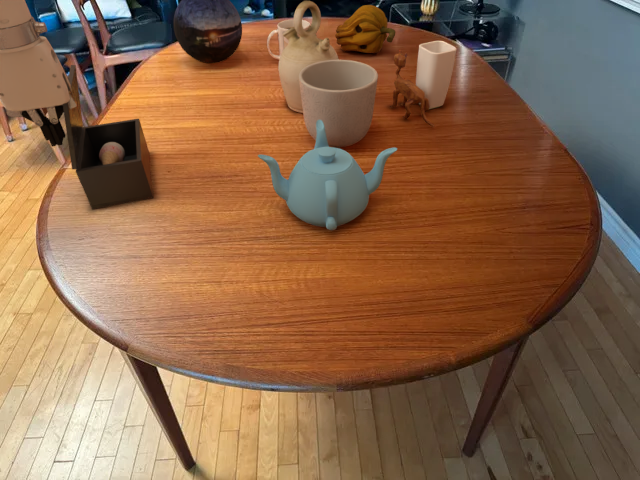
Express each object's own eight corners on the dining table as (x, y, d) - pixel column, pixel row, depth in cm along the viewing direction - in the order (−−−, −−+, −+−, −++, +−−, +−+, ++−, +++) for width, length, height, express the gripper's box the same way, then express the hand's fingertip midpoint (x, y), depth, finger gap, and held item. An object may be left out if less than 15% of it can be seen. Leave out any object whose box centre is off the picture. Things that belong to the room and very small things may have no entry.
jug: (271, 99, 125) (262, -2, 108) (321, 86, 131) (319, -12, 114) (298, 123, 115) (292, 15, 98) (350, 108, 121) (353, 3, 104)
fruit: (353, 45, 160) (409, 33, 150) (337, 68, 151) (396, 57, 141) (340, 4, 151) (399, -11, 142) (323, 26, 142) (385, 11, 132)
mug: (301, 70, 139) (299, 32, 132) (266, 64, 143) (263, 27, 136) (316, 58, 146) (315, 21, 139) (283, 53, 150) (280, 16, 143)
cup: (449, 107, 120) (459, 48, 110) (425, 113, 118) (434, 54, 108) (432, 96, 125) (440, 39, 115) (409, 102, 123) (416, 44, 113)
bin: (149, 153, 106) (138, 118, 100) (153, 197, 93) (141, 160, 87) (95, 163, 103) (81, 127, 97) (92, 209, 91) (75, 171, 85)
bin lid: (75, 65, 90) (43, 62, 88) (67, 103, 77) (30, 101, 75) (82, 125, 97) (53, 124, 95) (77, 169, 85) (43, 169, 83)
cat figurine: (444, 128, 112) (454, 72, 103) (422, 134, 110) (430, 78, 101) (401, 99, 124) (407, 46, 115) (380, 104, 122) (384, 51, 113)
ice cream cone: (123, 176, 89) (130, 153, 102) (106, 156, 86) (116, 135, 99) (102, 189, 89) (112, 164, 102) (85, 169, 86) (97, 146, 99)
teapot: (317, 169, 100) (316, 116, 92) (392, 199, 91) (398, 144, 83) (263, 209, 90) (256, 154, 82) (342, 248, 81) (343, 190, 73)
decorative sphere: (259, 58, 148) (251, -12, 134) (211, 79, 136) (198, 5, 123) (216, 45, 157) (205, -22, 144) (168, 63, 145) (151, -7, 132)
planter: (383, 151, 105) (388, 86, 94) (309, 161, 102) (306, 95, 92) (362, 117, 117) (365, 56, 107) (296, 124, 115) (292, 63, 104)
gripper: (65, 21, 74) (102, 125, 87) (-40, 32, 71) (15, 139, 83) (60, 36, 69) (101, 145, 81) (-53, 49, 66) (8, 160, 78)
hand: (57, 141), depth 82 cm, fingers closed
